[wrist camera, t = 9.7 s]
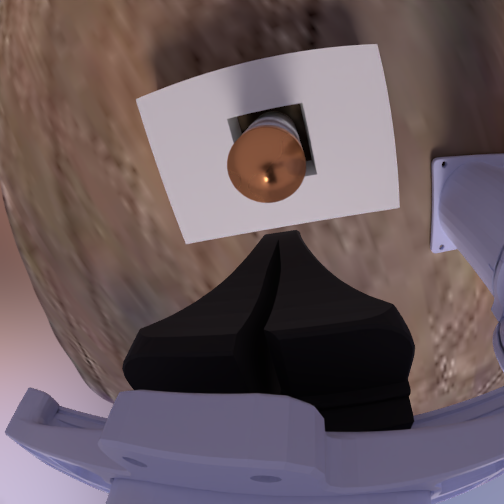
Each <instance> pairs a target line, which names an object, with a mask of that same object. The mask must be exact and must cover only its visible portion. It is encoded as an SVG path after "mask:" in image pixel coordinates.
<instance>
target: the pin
mask: <svg viewBox="0 0 504 504" xmlns="http://www.w3.org/2000/svg"><path fill="white" fill-rule="evenodd" d="M227 171H228V175H229V178H230V180H231V182H232V184H233V185H234V187H235V188H236V189H237V190H238V191H239V192H240V193H241V194H242V195H244V196H245V197H247V198H249V199H251V200H253V201H257V202H261V203H273V202H278V201H281V200H284V199H286V198H288V197H289V196H291V195H292V194H293V193H295V192H296V191H297V189H298V188H299V187H300V185H301V184H302V182H303V180H304V177H305V173H306V160H305V156H304V152H303V149H302V146H301V143H300V139H299V136H298V133H297V130H296V127H295V124H294V122H293V121H292V120H291V118H290V117H288V116H287V115H286V114H284V113H281V112H277V111H270V112H266V113H264V114H262V115H260V116H259V117H258V118H257V119H256V120H255V121H254V122H253V123H252V124H251V125H250V126H249V127H248V128H247V129H246V131H245V132H244V133H243V134H242V135H241V136H240V137H239V138H238V139H237V140H236V141H235V143H234V144H233V146H232V147H231V149H230V151H229V154H228V159H227Z"/></svg>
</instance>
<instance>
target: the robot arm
mask: <svg viewBox="0 0 504 504" xmlns="http://www.w3.org/2000/svg"><path fill="white" fill-rule="evenodd" d="M444 161H445V165H444V166H443V167H442V163H443V162H444ZM440 245H442V247H440ZM439 247H440V248H439ZM430 249H431V251H432V252H433V253H439V252H444V251H449V250H455V249H458V250H459V251H460V252H461V254H462V255H463V256H464V257H465V259H466V260H467V261H468V262H469V264H470V265H471V266H472V267H473V269H474V270H475V271H476V273H477V274H478V275H479V277H480V278H481V279H482V281H483V282H484V284H485V285H486V286H487V288H488V289H489V291H490V292H491V293H492V295H493V296H494V298H495V299H494V303H493V306H492V308H491V311H492V312H493V314H494V315H495V317H496V319H497V320H498V322H499V323H498V324H497V326H496V327H495V330H494V333H493V347H494V352H495V355H496V358H497V360H498V362H499V365H500V367H501V369H502V370H503V372H504V153H500V154H479V155H463V156H450V157H438V158H434V159H433V161H432V225H431V243H430ZM414 352H415V345H414V342H413V338H412V335H411V333H410V331H409V329H408V327H407V325H406V323H405V321H404V320H403V318H402V316H401V315H400V313H399V312H398V310H397V308H396V307H395V306H394V305H393V304H391V303H388V302H385V301H382V300H380V299H377V298H374V297H371V296H369V295H367V294H364V293H362V292H360V291H358V290H356V289H354V288H352V287H351V286H349V285H347V284H346V283H344V282H343V281H341V280H340V279H338V278H337V277H336V276H334V275H333V274H332V273H331V272H330V271H328V270H327V269H326V268H325V267H324V266H323V265H322V264H321V263H320V262H319V261H318V260H317V259H316V257H315V256H314V255H313V254H312V253H311V251H310V250H309V249H308V247H307V246H306V244H305V243H304V241H303V240H302V238H301V235H300V232H299V231H297V230H293V231H286V232H280V233H273V234H266V235H264V236H263V238H262V239H261V240H260V242H259V243H258V244H257V245H256V247H255V248H254V249H253V250H252V252H251V253H250V254H249V255H248V256H247V258H246V259H245V260H244V261H243V262H242V263H241V264H240V265H239V266H238V267H237V268H236V270H235V271H234V272H233V273H232V274H231V275H230V276H229V277H227V278H226V279H225V280H224V281H223V282H222V283H221V284H219V285H218V286H217V287H216V288H214V289H213V290H212V291H210V292H209V293H208V294H206V295H205V296H203V297H202V298H200V299H199V300H197V301H196V302H195V303H193V304H191V305H190V306H188V307H186V308H184V309H183V310H181V311H179V312H177V313H175V314H173V315H171V316H169V317H167V318H165V319H163V320H161V321H158V322H156V323H154V324H151V325H149V326H147V327H144V328H142V329H140V330H139V332H138V334H137V336H136V338H135V340H134V342H133V344H132V346H131V348H130V350H129V352H128V354H127V356H126V358H125V360H124V362H123V368H122V369H123V372H124V376H125V378H126V379H127V381H128V382H129V384H130V385H131V387H132V388H133V389H134V390H132V391H123V392H120V393H119V394H118V396H117V398H116V400H115V402H114V404H113V407H112V409H111V411H110V414H109V416H108V418H103V417H99V416H94V415H91V414H87V413H83V412H79V411H76V410H72V409H69V408H65V407H62V406H59V404H58V403H57V402H56V401H55V400H54V399H53V398H52V397H51V396H50V395H48V394H47V393H45V392H43V391H40V390H37V389H34V388H28V390H27V392H26V393H25V395H24V397H23V399H22V400H21V402H20V404H19V406H18V408H17V410H16V411H15V413H14V415H13V417H12V419H11V421H10V423H9V424H8V427H7V428H6V431H5V433H6V435H8V436H9V437H10V438H11V439H12V440H14V441H15V442H16V443H17V444H19V445H20V446H21V447H23V448H24V449H25V450H27V451H28V452H29V453H31V454H32V455H34V456H35V457H36V458H38V459H39V460H41V461H42V462H44V463H45V464H47V465H49V466H51V467H53V468H54V469H56V470H58V471H60V472H62V473H64V474H66V475H68V476H70V477H72V478H74V479H77V480H79V481H80V482H83V483H85V484H87V485H89V486H92V487H94V488H96V489H98V490H101V491H103V492H106V493H108V494H109V495H108V499H107V501H106V504H436V503H439V502H442V501H445V500H447V499H450V498H453V497H455V496H458V495H460V494H462V493H465V492H467V491H469V490H471V489H474V488H476V487H478V486H480V485H482V484H485V483H487V482H489V481H491V480H493V479H495V478H497V477H499V476H500V475H502V474H504V386H503V387H500V388H498V389H496V390H493V391H491V392H488V393H485V394H483V395H480V396H477V397H475V398H472V399H469V400H466V401H463V402H460V403H457V404H454V405H451V406H448V407H444V408H441V409H438V410H434V411H430V412H427V413H423V414H419V415H415V416H413V412H412V408H411V404H410V399H409V395H410V393H411V391H410V386H409V382H408V376H409V373H410V369H411V366H412V362H413V358H414Z"/></svg>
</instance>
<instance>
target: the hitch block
mask: <svg viewBox="0 0 504 504" xmlns="http://www.w3.org/2000/svg"><path fill="white" fill-rule="evenodd" d="M136 101H137V105H138V108H139V111H140V114H141V118H142V121H143V124H144V127H145V130H146V133H147V137H148V140H149V143H150V146H151V149H152V152H153V155H154V158H155V161H156V164H157V166H158V169H159V172H160V175H161V178H162V181H163V184H164V186H165V189H166V192H167V195H168V198H169V200H170V203H171V206H172V208H173V211H174V214H175V217H176V219H177V222H178V224H179V227H180V230H181V232H182V235H183V238H184V240H185V243H186V244H189V243H194V242H200V241H205V240H211V239H216V238H221V237H227V236H232V235H238V234H244V233H249V232H255V231H261V230H266V229H272V228H278V227H284V226H289V225H295V224H301V223H307V222H313V221H319V220H325V219H331V218H338V217H344V216H350V215H356V214H363V213H369V212H376V211H382V210H389V209H395V208H400V205H399V184H398V170H397V158H396V148H395V139H394V131H393V123H392V116H391V110H390V104H389V98H388V92H387V87H386V81H385V77H384V72H383V67H382V63H381V58H380V54H379V50H378V46H377V44H367V45H351V46H340V47H330V48H322V49H314V50H307V51H300V52H294V53H288V54H283V55H278V56H273V57H268V58H263V59H258V60H254V61H250V62H246V63H242V64H238V65H234V66H230V67H226V68H223V69H219V70H216V71H212V72H209V73H206V74H203V75H200V76H196V77H193V78H190V79H187V80H184V81H182V82H179V83H176V84H173V85H170V86H168V87H165V88H162V89H160V90H157V91H155V92H152V93H150V94H147V95H145V96H143V97H140V98H138V99H136ZM298 103H300V107H301V111H302V116H303V120H304V125H305V129H306V134H307V139H308V144H309V149H310V154H311V159H312V160H310V161H306V173H305V177H304V180H303V182H302V184H301V185H300V187H299V188H298V189H297V191H296V192H295V193H293V194H292V195H291V196H289V197H288V198H286V199H284V200H281V201H278V202H273V203H261V202H257V201H253V200H251V199H249V198H247V197H245V196H244V195H242V194H241V193H240V192H239V191H238V190H237V189H236V188H235V187H234V185H233V184H232V182H231V180H230V178H229V175H228V171H227V159H228V154H229V151H230V149H231V147H232V146H233V144H234V143H235V141H236V140H237V139H238V138H239V137H240V136H241V135H242V133H241V129H240V125H239V122H238V118H237V116H241V115H245V114H249V113H253V112H258V111H262V110H267V109H272V108H277V107H282V106H287V105H292V104H298Z"/></svg>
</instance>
